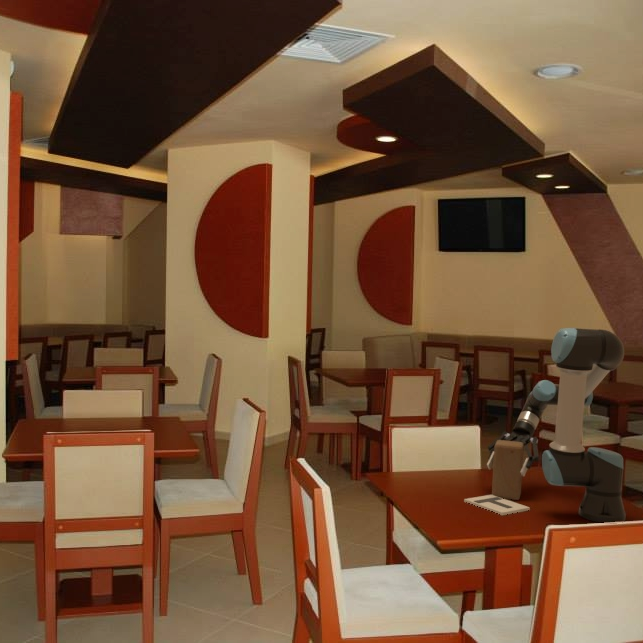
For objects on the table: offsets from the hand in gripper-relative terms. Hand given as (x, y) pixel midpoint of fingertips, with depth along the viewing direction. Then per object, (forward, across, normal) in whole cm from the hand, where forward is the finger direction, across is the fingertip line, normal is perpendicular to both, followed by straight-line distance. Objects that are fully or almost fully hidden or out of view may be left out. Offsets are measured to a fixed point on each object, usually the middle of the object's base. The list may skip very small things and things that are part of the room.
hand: (505, 470), depth 288 cm
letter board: (+16, -4, +3) cm, 17 cm away
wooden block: (+6, 0, -8) cm, 10 cm away
